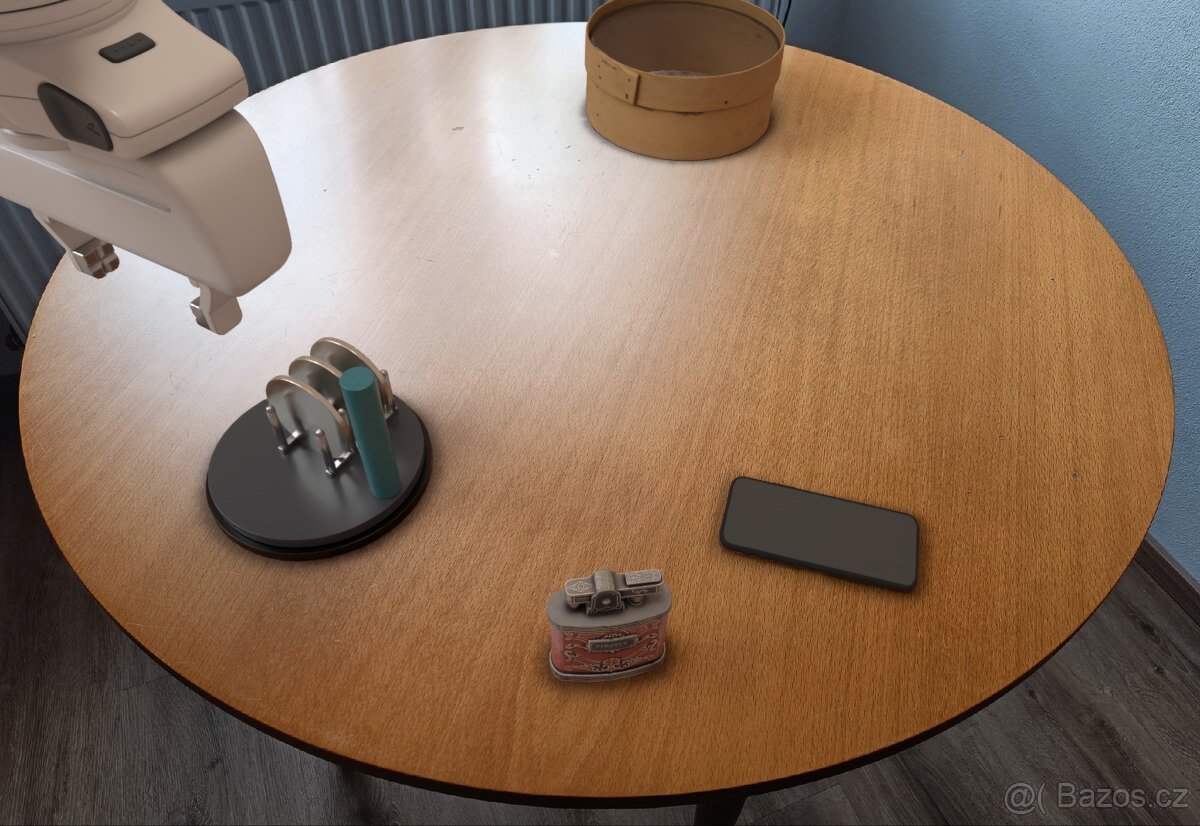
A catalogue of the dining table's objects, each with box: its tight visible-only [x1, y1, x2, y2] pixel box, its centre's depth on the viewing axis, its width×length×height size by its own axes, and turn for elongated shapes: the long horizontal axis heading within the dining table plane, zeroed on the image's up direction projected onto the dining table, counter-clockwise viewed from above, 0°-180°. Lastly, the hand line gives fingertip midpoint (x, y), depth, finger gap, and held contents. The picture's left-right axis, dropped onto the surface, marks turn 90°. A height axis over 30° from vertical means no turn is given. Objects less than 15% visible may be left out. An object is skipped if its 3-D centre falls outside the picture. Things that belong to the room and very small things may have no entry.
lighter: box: [546, 568, 673, 683], centre depth 56 cm, size 8×3×10 cm, turn 99°
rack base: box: [205, 408, 434, 562], centre depth 71 cm, size 18×18×1 cm
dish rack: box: [207, 336, 425, 548], centre depth 66 cm, size 17×17×13 cm
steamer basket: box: [584, 0, 787, 161], centre depth 110 cm, size 25×25×11 cm
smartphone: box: [718, 475, 920, 593], centre depth 67 cm, size 7×1×15 cm
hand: (159, 296), depth 47 cm, fingers open, 8 cm apart
